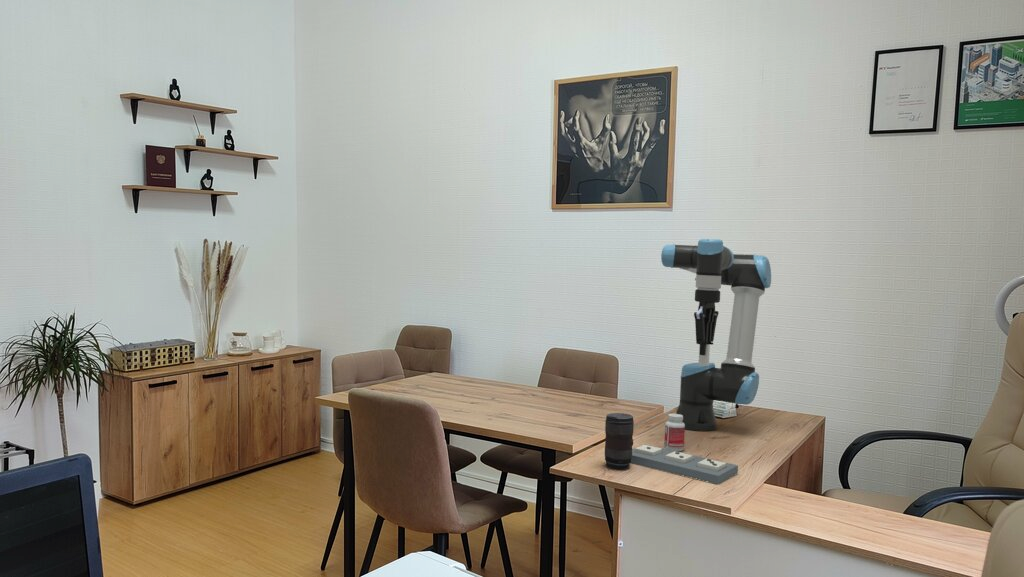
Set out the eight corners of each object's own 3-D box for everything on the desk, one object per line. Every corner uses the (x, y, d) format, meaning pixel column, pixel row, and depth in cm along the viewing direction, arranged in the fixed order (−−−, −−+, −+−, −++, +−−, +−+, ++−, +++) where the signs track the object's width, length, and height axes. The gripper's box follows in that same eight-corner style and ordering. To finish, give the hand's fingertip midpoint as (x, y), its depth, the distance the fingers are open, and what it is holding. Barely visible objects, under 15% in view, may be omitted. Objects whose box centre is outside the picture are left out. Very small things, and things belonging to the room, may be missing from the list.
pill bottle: (687, 450, 231) (689, 416, 230) (674, 452, 227) (676, 418, 227) (673, 445, 236) (675, 412, 235) (659, 447, 233) (661, 413, 232)
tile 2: (674, 462, 216) (674, 450, 216) (692, 467, 213) (693, 454, 212) (664, 466, 212) (665, 454, 212) (683, 471, 208) (684, 458, 208)
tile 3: (705, 470, 210) (706, 457, 210) (725, 474, 206) (726, 461, 206) (696, 474, 206) (697, 461, 205) (716, 479, 202) (717, 466, 202)
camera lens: (614, 460, 216) (617, 411, 215) (637, 467, 210) (639, 416, 209) (597, 465, 210) (600, 414, 209) (620, 472, 205) (622, 420, 204)
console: (644, 451, 227) (645, 444, 227) (737, 473, 208) (738, 465, 208) (621, 460, 216) (622, 452, 216) (717, 484, 197) (718, 475, 197)
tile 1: (644, 455, 223) (644, 443, 222) (661, 459, 219) (662, 447, 219) (634, 459, 218) (635, 447, 218) (652, 463, 214) (653, 451, 214)
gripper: (705, 288, 230) (701, 361, 231) (687, 288, 220) (682, 365, 221) (728, 289, 225) (723, 364, 226) (710, 290, 215) (706, 369, 216)
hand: (703, 365), depth 224 cm, fingers closed
